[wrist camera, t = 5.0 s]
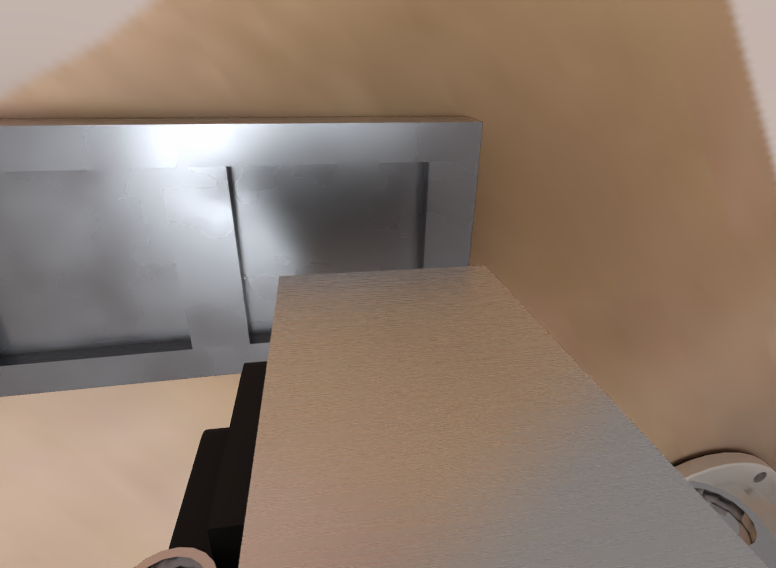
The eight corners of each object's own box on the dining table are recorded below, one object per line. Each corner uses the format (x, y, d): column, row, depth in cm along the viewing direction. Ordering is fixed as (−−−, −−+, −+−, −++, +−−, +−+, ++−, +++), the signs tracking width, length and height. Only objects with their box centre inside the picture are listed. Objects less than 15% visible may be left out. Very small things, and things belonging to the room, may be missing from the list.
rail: (465, 116, 17) (482, 121, 15) (447, 330, 21) (460, 351, 19) (-528, 122, 12) (-644, 131, 11) (-308, 397, 16) (-369, 433, 14)
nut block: (485, 265, 12) (782, 582, 4) (469, 424, 14) (652, 820, 6) (279, 276, 11) (222, 678, 4) (295, 442, 13) (279, 912, 6)
